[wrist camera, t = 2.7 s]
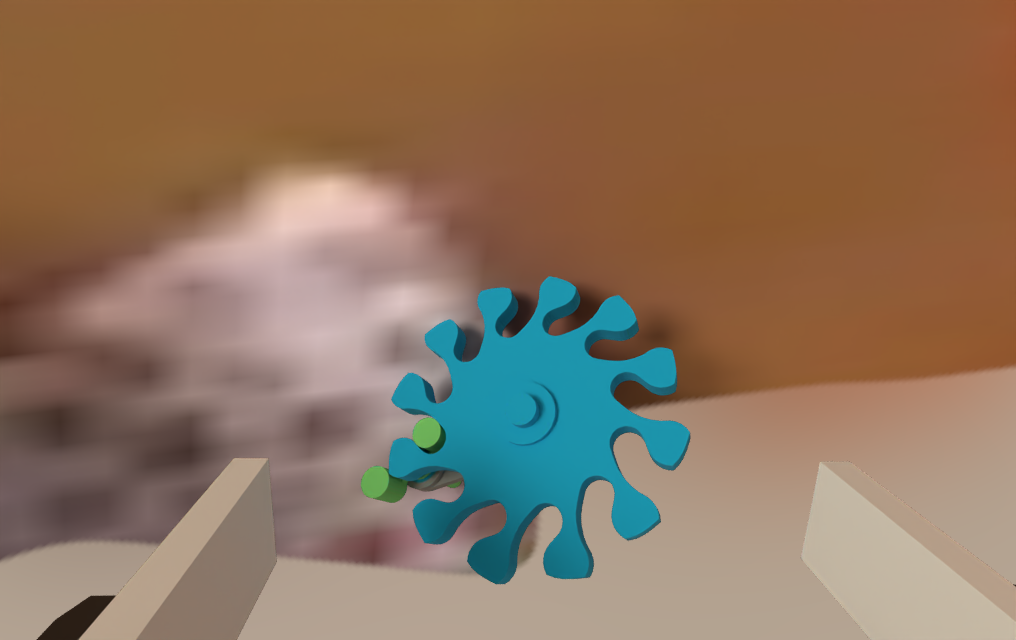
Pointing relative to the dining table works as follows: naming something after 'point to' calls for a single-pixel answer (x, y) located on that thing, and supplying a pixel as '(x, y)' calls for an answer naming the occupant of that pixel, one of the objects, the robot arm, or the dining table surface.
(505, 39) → the dining table surface
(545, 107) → the dining table surface
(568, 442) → the gear
